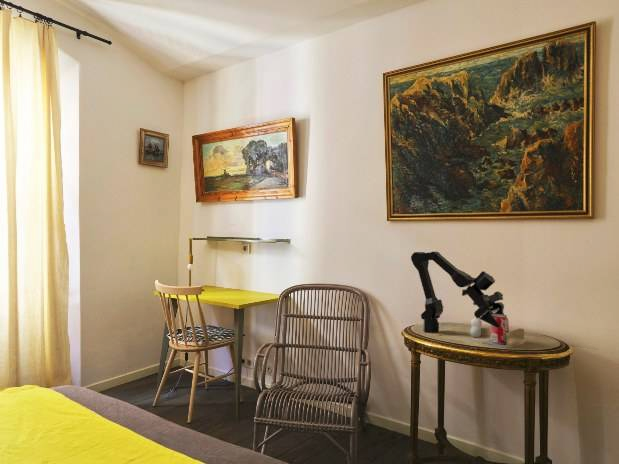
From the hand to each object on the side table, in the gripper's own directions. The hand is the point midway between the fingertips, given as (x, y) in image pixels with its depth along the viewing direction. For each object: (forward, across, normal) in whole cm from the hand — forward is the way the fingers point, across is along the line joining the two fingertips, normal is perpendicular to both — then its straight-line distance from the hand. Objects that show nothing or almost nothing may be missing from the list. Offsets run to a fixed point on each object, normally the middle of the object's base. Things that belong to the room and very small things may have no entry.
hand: (503, 325), depth 187 cm
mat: (+5, 0, +7) cm, 8 cm away
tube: (-7, +15, +20) cm, 26 cm away
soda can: (+4, 0, +7) cm, 8 cm away
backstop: (+8, +3, +3) cm, 9 cm away
